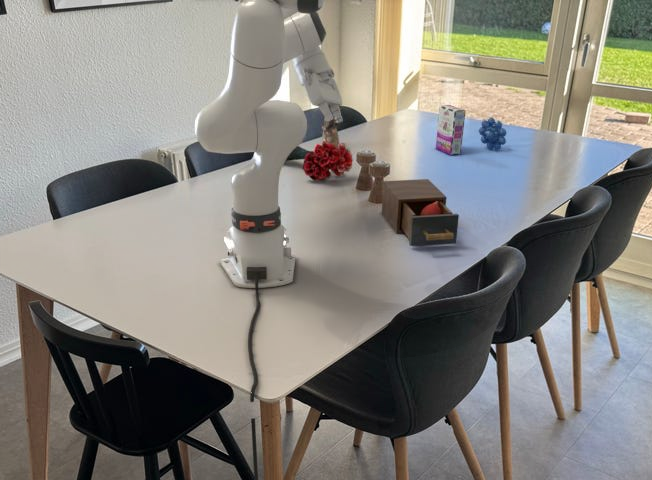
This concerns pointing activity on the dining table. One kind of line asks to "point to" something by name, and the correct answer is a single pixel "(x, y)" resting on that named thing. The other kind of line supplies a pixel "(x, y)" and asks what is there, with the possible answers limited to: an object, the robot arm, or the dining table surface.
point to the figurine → (330, 133)
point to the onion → (431, 209)
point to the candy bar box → (450, 129)
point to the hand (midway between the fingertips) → (335, 121)
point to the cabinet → (406, 197)
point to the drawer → (428, 224)
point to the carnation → (323, 160)
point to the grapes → (492, 133)
